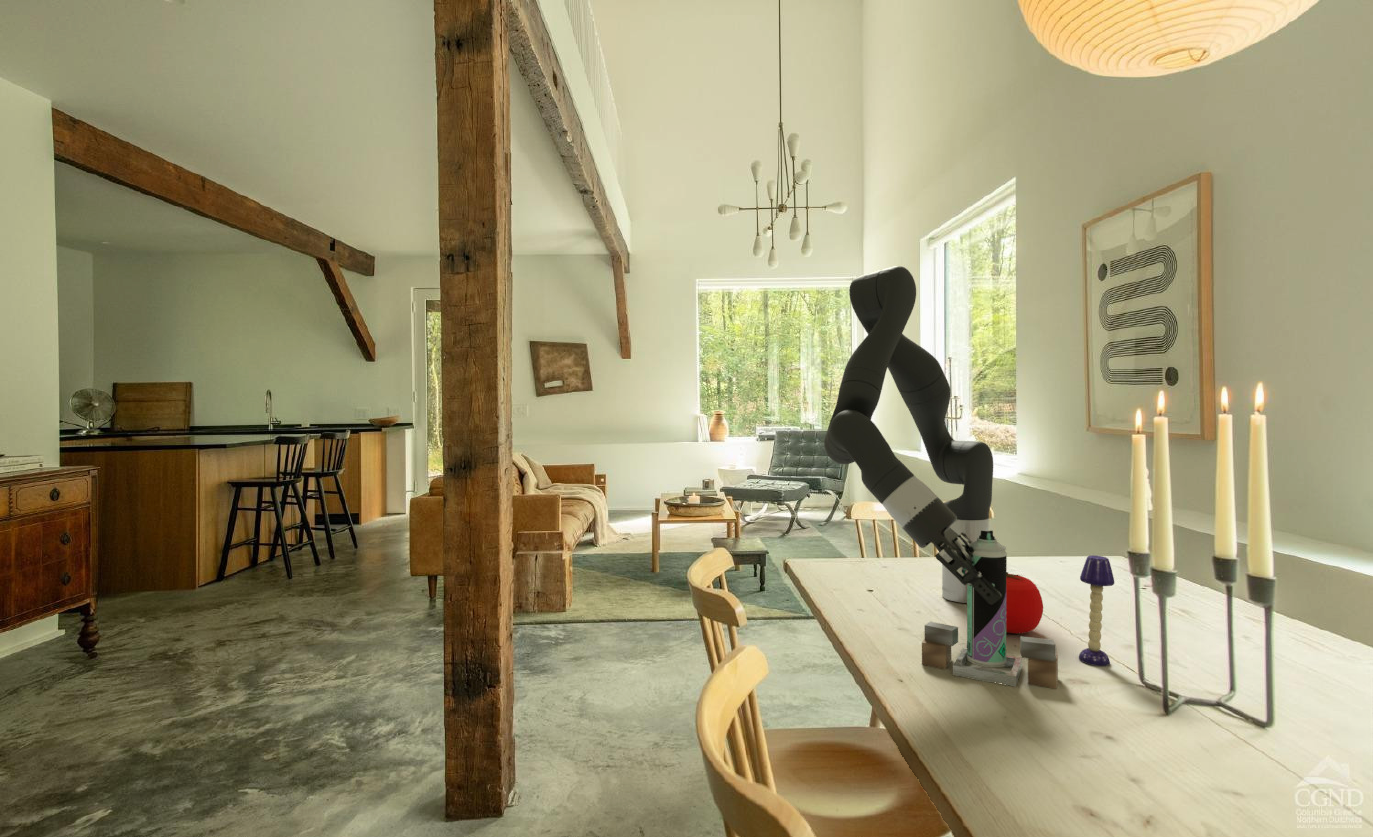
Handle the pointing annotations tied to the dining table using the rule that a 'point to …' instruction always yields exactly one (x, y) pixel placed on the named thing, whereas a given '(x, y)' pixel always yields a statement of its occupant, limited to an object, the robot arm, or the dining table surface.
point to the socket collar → (988, 674)
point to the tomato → (1022, 604)
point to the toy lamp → (1096, 606)
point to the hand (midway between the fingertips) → (999, 595)
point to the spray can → (987, 605)
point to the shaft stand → (1034, 649)
